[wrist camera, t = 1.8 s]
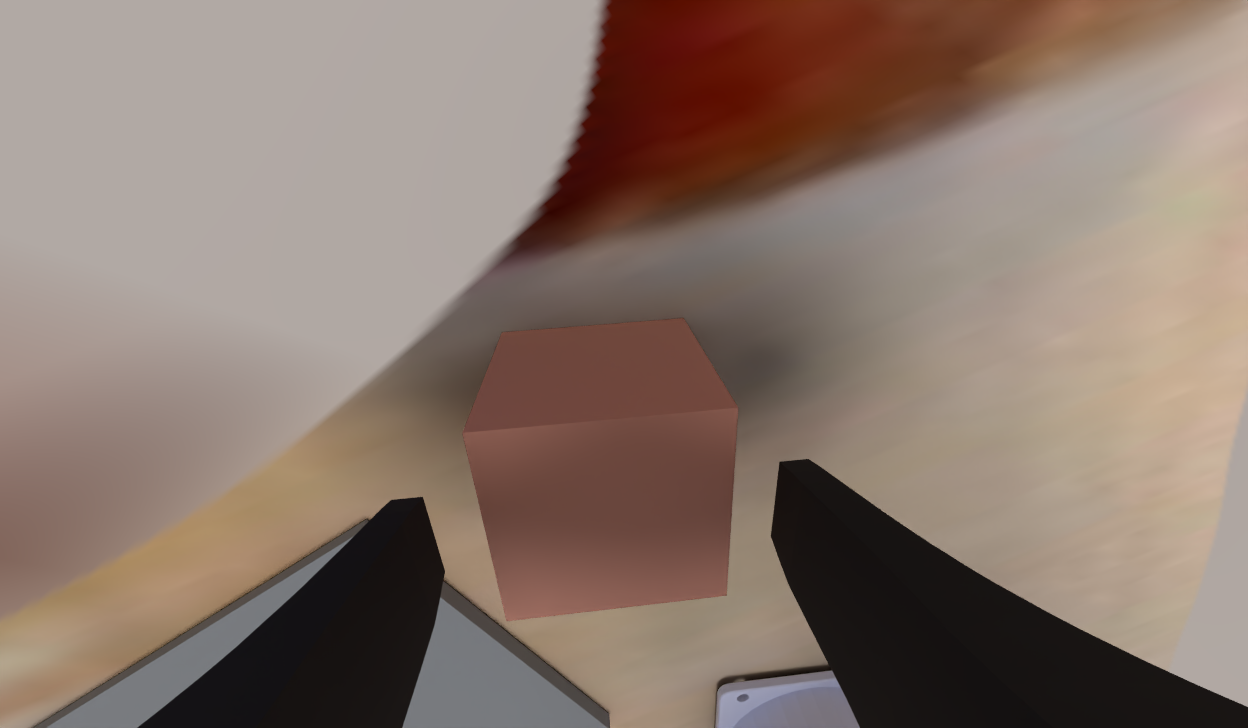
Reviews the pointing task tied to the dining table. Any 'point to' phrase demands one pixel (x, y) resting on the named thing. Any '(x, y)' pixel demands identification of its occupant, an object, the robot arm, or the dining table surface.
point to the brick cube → (603, 468)
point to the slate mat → (444, 693)
